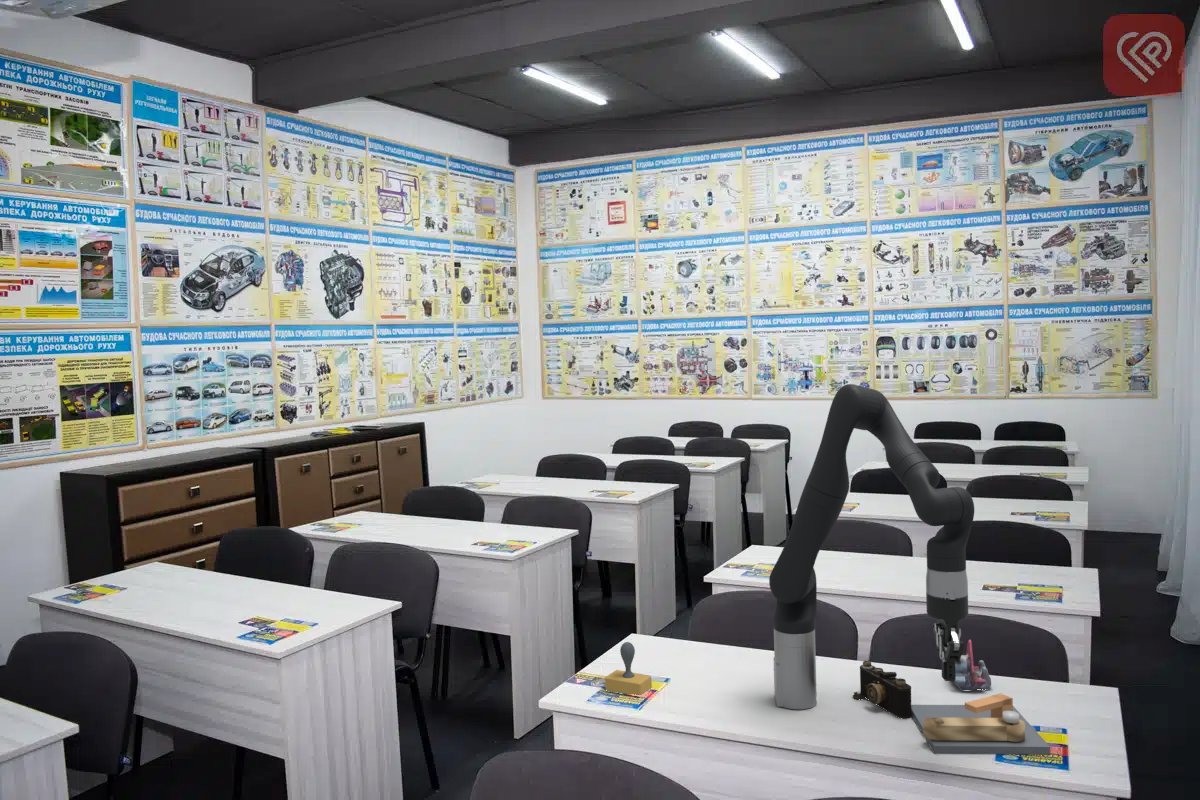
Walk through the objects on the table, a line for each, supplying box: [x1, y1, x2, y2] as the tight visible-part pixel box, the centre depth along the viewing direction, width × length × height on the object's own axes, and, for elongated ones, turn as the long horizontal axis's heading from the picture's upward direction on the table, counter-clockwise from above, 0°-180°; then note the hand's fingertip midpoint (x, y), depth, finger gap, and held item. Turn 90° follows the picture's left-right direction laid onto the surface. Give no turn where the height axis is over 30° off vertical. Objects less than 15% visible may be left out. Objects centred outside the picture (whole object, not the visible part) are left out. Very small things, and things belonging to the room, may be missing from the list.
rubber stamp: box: [604, 641, 653, 695], centre depth 218 cm, size 10×6×12 cm, turn 60°
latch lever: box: [922, 717, 1025, 742], centre depth 182 cm, size 20×5×3 cm, turn 84°
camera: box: [852, 660, 913, 720], centre depth 204 cm, size 16×7×8 cm, turn 18°
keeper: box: [964, 692, 1014, 718], centre depth 187 cm, size 10×3×6 cm, turn 115°
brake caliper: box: [952, 639, 992, 691], centre depth 214 cm, size 11×11×12 cm
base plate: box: [911, 704, 1051, 755], centre depth 188 cm, size 22×21×6 cm
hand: (948, 679), depth 175 cm, fingers closed
